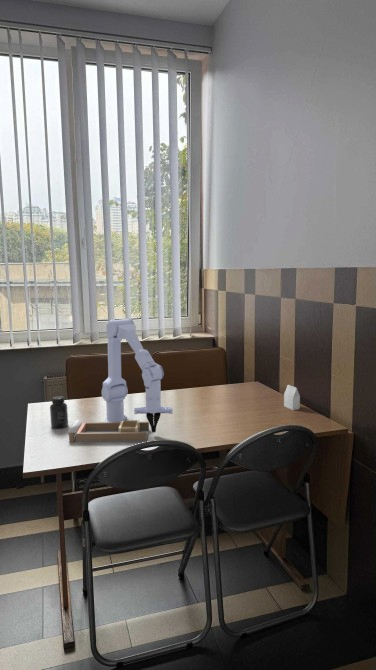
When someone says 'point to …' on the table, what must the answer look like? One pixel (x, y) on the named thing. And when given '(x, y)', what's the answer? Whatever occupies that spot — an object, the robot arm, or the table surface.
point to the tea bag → (291, 398)
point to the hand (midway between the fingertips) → (153, 431)
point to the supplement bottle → (58, 412)
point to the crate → (129, 426)
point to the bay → (105, 432)
